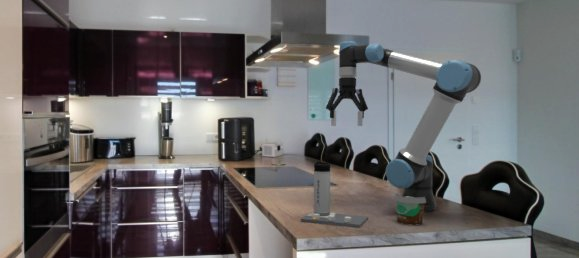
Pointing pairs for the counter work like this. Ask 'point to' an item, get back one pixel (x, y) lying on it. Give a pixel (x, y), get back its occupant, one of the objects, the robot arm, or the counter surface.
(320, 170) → the travel mug
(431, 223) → the counter surface
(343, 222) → the breaker panel
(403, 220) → the food container
